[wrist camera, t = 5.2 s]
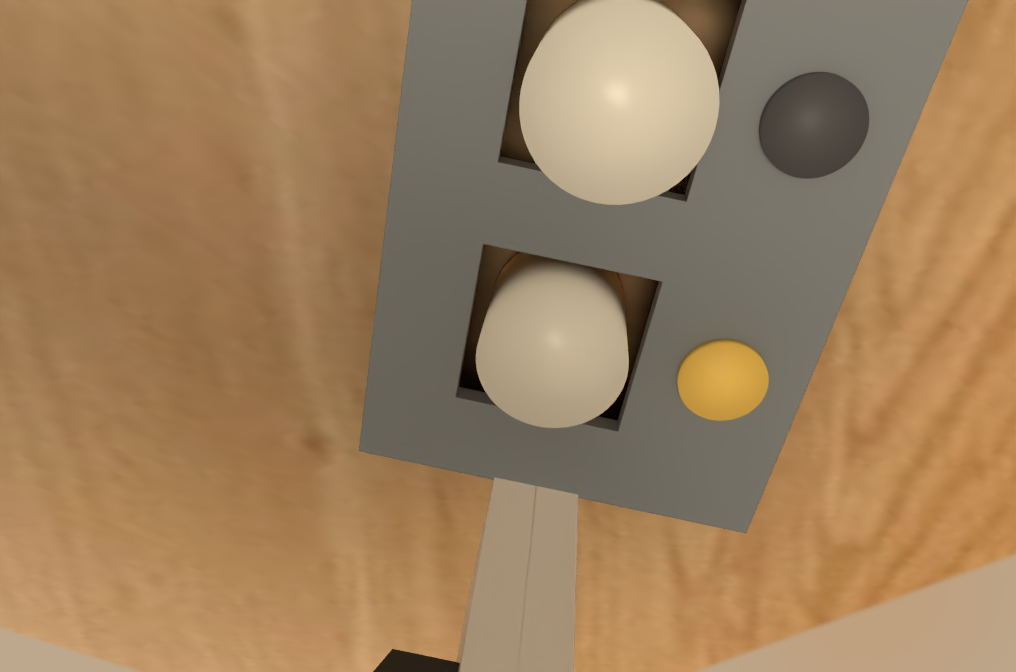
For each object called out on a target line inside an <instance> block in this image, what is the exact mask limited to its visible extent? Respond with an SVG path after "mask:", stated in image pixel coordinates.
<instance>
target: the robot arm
mask: <svg viewBox="0 0 1016 672" xmlns="http://www.w3.org/2000/svg"><path fill="white" fill-rule="evenodd" d="M577 528H578V494H573V493H568V492H563V491H558V490H553V489H549V488H544V487H539V486H534V485H529V484H524V483H520V482H515V481H510V480H505V479H500V478H495V477H494V481H493V486H492V490H491V495H490V499H489V504H488V509H487V513H486V518H485V522H484V527H483V531H482V536H481V541H480V545H479V550H478V554H477V559H476V564H475V568H474V573H473V577H472V582H471V586H470V591H469V597H468V602H467V608H466V613H465V618H464V624H463V629H462V635H461V640H460V645H459V651H458V656H457V662H453V661H448V660H443V659H438V658H434V657H429V656H424V655H419V654H414V653H409V652H404V651H400V650H395V649H392V650H391V652H390V653H389V654H388V655H387V656H386V657H385V659H384V660H383V661H382V662H381V663H380V664H379V666H378V667H377V668H376V669H375V670H374V671H373V672H574V646H575V607H576V567H577Z"/></svg>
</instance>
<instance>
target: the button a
mask: <svg viewBox="0 0 1016 672" xmlns="http://www.w3.org/2000/svg"><path fill="white" fill-rule="evenodd" d="M476 368H477V373H478V376H479V379H480V382H481V384H482V386H483V388H484V390H485V392H486V393H487V395H488V396H489V398H490V399H491V400H492V401H493V402H494V403H495V404H496V405H497V406H498V407H499V408H500V409H501V410H502V411H504V412H505V413H507V414H508V415H510V416H511V417H513V418H515V419H517V420H519V421H522V422H524V423H527V424H530V425H534V426H538V427H545V428H565V427H571V426H575V425H579V424H582V423H585V422H587V421H589V420H592V419H594V418H595V417H597V416H599V415H600V414H602V413H603V412H604V411H605V410H607V409H608V408H609V407H610V406H611V405H612V404H613V403H614V402H615V400H616V399H617V398H618V396H619V395H620V393H621V391H622V389H623V387H624V385H625V382H626V379H627V375H628V368H629V357H628V342H627V327H626V313H625V299H624V291H623V287H622V284H621V282H620V279H619V277H618V275H617V274H616V272H614V271H610V270H605V269H600V268H595V267H591V266H586V265H581V264H576V263H572V262H567V261H562V260H557V259H553V258H548V257H543V256H538V255H534V254H529V253H524V252H520V253H518V254H517V255H516V256H514V257H513V258H512V259H511V260H510V261H509V262H508V263H507V264H506V265H505V267H504V268H503V269H502V271H501V273H500V274H499V276H498V279H497V281H496V283H495V287H494V290H493V294H492V297H491V300H490V304H489V307H488V310H487V314H486V317H485V321H484V324H483V327H482V331H481V334H480V337H479V341H478V345H477V349H476Z"/></svg>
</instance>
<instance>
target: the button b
mask: <svg viewBox="0 0 1016 672" xmlns="http://www.w3.org/2000/svg"><path fill="white" fill-rule="evenodd" d="M719 103H720V102H719V86H718V80H717V75H716V71H715V68H714V65H713V62H712V60H711V58H710V56H709V54H708V52H707V50H706V48H705V47H704V45H703V44H702V42H701V41H700V39H699V38H698V37H697V36H696V35H695V34H694V32H693V31H692V30H691V29H690V28H689V27H688V26H687V25H686V24H685V23H684V22H683V20H682V19H681V18H680V17H679V16H678V15H677V14H676V13H675V12H674V11H673V10H672V9H670V8H669V7H668V6H667V5H666V4H664V3H663V2H661V1H659V0H578V1H577V2H575V3H574V4H572V5H570V6H569V7H568V8H567V9H565V10H564V11H563V12H562V13H561V14H560V15H559V16H558V17H557V18H556V19H555V20H554V21H553V23H552V24H551V25H550V27H549V28H548V30H547V31H546V33H545V35H544V37H543V38H542V40H541V42H540V44H539V46H538V48H537V50H536V51H535V53H534V55H533V57H532V59H531V61H530V63H529V65H528V67H527V70H526V72H525V75H524V78H523V82H522V86H521V92H520V100H519V116H520V123H521V129H522V133H523V137H524V140H525V143H526V145H527V147H528V150H529V152H530V154H531V156H532V157H533V159H534V161H535V163H536V164H537V165H538V167H539V168H540V169H541V170H542V172H543V173H544V174H545V175H546V176H547V177H548V178H549V179H550V180H551V181H552V182H553V183H555V184H556V185H557V186H559V187H560V188H561V189H563V190H565V191H566V192H568V193H570V194H571V195H573V196H576V197H578V198H581V199H583V200H586V201H590V202H594V203H599V204H606V205H623V204H632V203H636V202H641V201H645V200H647V199H650V198H653V197H655V196H658V195H660V194H661V193H663V192H665V191H667V190H669V189H670V188H672V187H673V186H675V185H676V184H678V183H679V182H680V181H681V180H682V179H683V178H685V177H686V176H687V175H688V174H689V173H690V172H691V171H692V169H693V168H694V167H695V166H696V165H697V164H698V162H699V161H700V159H701V158H702V156H703V155H704V153H705V151H706V149H707V148H708V146H709V144H710V142H711V139H712V136H713V134H714V131H715V128H716V123H717V119H718V113H719Z"/></svg>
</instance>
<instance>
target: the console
mask: <svg viewBox="0 0 1016 672" xmlns="http://www.w3.org/2000/svg"><path fill="white" fill-rule="evenodd" d="M967 2H968V0H742V1H741V5H740V8H739V11H738V15H737V18H736V22H735V25H734V28H733V32H732V35H731V39H730V42H729V45H728V49H727V52H726V55H725V59H724V62H723V66H722V69H721V72H720V76H719V79H718V86H719V102H720V103H719V113H718V119H717V123H716V128H715V131H714V134H713V136H712V139H711V142H710V144H709V146H708V148H707V149H706V151H705V153H704V155H703V156H702V158H701V159H700V161H699V162H698V164H697V165H696V166H695V167H694V168H693V169H692V171H691V174H690V177H689V181H688V184H687V188H686V191H685V194H684V195H683V194H678V193H673V192H669V191H665V192H663V193H661V194H660V195H658V196H655V197H653V198H650V199H647V200H645V201H641V202H636V203H632V204H623V205H606V204H599V203H594V202H590V201H586V200H583V199H581V198H578V197H576V196H573V195H571V194H570V193H568V192H566V191H565V190H563V189H561V188H560V187H559V186H557V185H556V184H555V183H553V182H552V181H551V180H550V179H549V178H548V177H547V176H546V175H545V174H544V173H543V172H542V170H541V169H540V168H539V167H538V165H537V164H535V163H530V162H525V161H520V160H516V159H511V158H506V157H501V156H500V155H501V149H502V144H503V138H504V133H505V127H506V122H507V116H508V111H509V105H510V100H511V94H512V88H513V83H514V77H515V72H516V66H517V61H518V55H519V50H520V44H521V39H522V33H523V27H524V22H525V16H526V11H527V5H528V0H412V5H411V14H410V22H409V31H408V39H407V48H406V56H405V65H404V73H403V82H402V90H401V99H400V107H399V116H398V124H397V132H396V141H395V149H394V158H393V166H392V175H391V183H390V192H389V200H388V209H387V217H386V226H385V234H384V243H383V251H382V260H381V268H380V277H379V285H378V293H377V302H376V310H375V319H374V327H373V336H372V344H371V353H370V361H369V370H368V378H367V387H366V395H365V404H364V412H363V421H362V429H361V438H360V446H359V451H361V452H366V453H370V454H375V455H380V456H385V457H389V458H394V459H399V460H403V461H408V462H413V463H418V464H422V465H427V466H432V467H436V468H441V469H446V470H450V471H455V472H460V473H465V474H469V475H474V476H479V477H483V478H488V479H493V480H494V477H495V478H500V479H505V480H510V481H515V482H520V483H524V484H529V485H534V486H539V487H544V488H549V489H553V490H558V491H563V492H568V493H573V494H578V498H582V499H587V500H592V501H596V502H601V503H606V504H610V505H615V506H620V507H625V508H629V509H634V510H639V511H643V512H648V513H653V514H657V515H662V516H667V517H672V518H676V519H681V520H686V521H690V522H695V523H700V524H705V525H709V526H714V527H719V528H723V529H728V530H733V531H737V532H742V533H747V530H748V528H749V525H750V523H751V521H752V518H753V516H754V513H755V511H756V509H757V506H758V504H759V501H760V499H761V497H762V494H763V492H764V489H765V487H766V485H767V482H768V480H769V477H770V475H771V473H772V470H773V468H774V465H775V463H776V461H777V458H778V456H779V453H780V451H781V449H782V446H783V444H784V441H785V439H786V437H787V434H788V432H789V429H790V427H791V425H792V422H793V420H794V417H795V415H796V413H797V410H798V408H799V405H800V403H801V401H802V398H803V396H804V393H805V391H806V389H807V386H808V384H809V381H810V379H811V377H812V374H813V372H814V369H815V367H816V365H817V362H818V360H819V357H820V355H821V353H822V350H823V348H824V345H825V343H826V341H827V338H828V336H829V333H830V331H831V329H832V326H833V324H834V321H835V319H836V317H837V314H838V312H839V309H840V307H841V305H842V302H843V300H844V297H845V295H846V293H847V290H848V288H849V285H850V283H851V281H852V278H853V276H854V273H855V271H856V269H857V266H858V264H859V261H860V259H861V257H862V254H863V252H864V249H865V247H866V245H867V242H868V240H869V237H870V235H871V233H872V230H873V228H874V225H875V223H876V221H877V218H878V216H879V213H880V211H881V209H882V206H883V204H884V201H885V199H886V197H887V194H888V192H889V189H890V187H891V185H892V182H893V180H894V177H895V175H896V173H897V170H898V168H899V165H900V163H901V161H902V158H903V156H904V153H905V151H906V149H907V146H908V144H909V141H910V139H911V137H912V134H913V132H914V129H915V127H916V125H917V122H918V120H919V117H920V115H921V113H922V110H923V108H924V105H925V103H926V101H927V98H928V96H929V93H930V91H931V89H932V86H933V84H934V81H935V79H936V77H937V74H938V72H939V69H940V67H941V65H942V62H943V60H944V58H945V55H946V53H947V50H948V48H949V46H950V43H951V41H952V38H953V36H954V34H955V31H956V29H957V26H958V24H959V22H960V19H961V17H962V14H963V12H964V10H965V7H966V5H967ZM484 244H486V245H491V246H496V247H500V248H505V249H510V250H515V251H519V252H524V253H529V254H534V255H538V256H543V257H548V258H553V259H557V260H562V261H567V262H572V263H576V264H581V265H586V266H591V267H595V268H600V269H605V270H610V271H614V272H619V273H624V274H629V275H634V276H638V277H643V278H648V279H653V280H657V281H659V283H658V286H657V289H656V293H655V296H654V299H653V303H652V306H651V310H650V313H649V316H648V320H647V323H646V327H645V330H644V333H643V337H642V340H641V344H640V347H639V350H638V354H637V357H636V360H635V364H634V367H633V371H632V374H631V377H630V381H629V384H628V388H627V391H626V394H625V398H624V401H623V405H622V408H621V411H620V415H619V418H618V420H613V419H608V418H604V417H599V416H597V417H595V418H594V419H592V420H589V421H587V422H585V423H582V424H579V425H575V426H571V427H565V428H545V427H538V426H534V425H530V424H527V423H524V422H522V421H519V420H517V419H515V418H513V417H511V416H510V415H508V414H507V413H505V412H504V411H502V410H501V409H500V408H499V407H498V406H497V405H496V404H495V403H494V402H493V401H492V400H491V399H490V398H489V396H488V395H487V393H485V392H481V391H476V390H471V389H467V388H462V387H459V382H460V377H461V371H462V365H463V360H464V354H465V349H466V343H467V338H468V332H469V327H470V321H471V316H472V310H473V305H474V299H475V293H476V288H477V282H478V277H479V271H480V266H481V260H482V255H483V249H484Z"/></svg>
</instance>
